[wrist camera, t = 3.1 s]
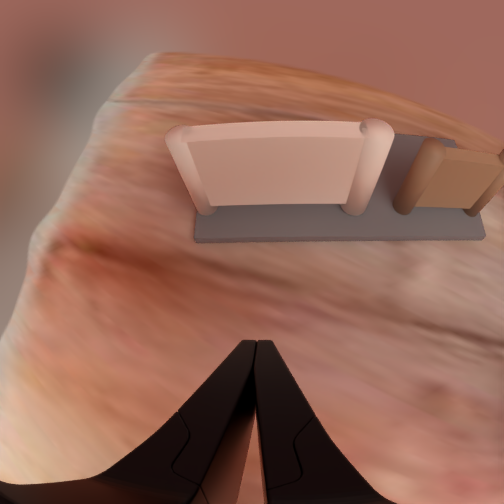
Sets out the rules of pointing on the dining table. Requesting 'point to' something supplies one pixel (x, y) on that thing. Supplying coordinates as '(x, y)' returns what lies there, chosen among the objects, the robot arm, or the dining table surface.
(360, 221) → the board
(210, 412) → the robot arm
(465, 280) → the dining table surface
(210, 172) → the fence gate
